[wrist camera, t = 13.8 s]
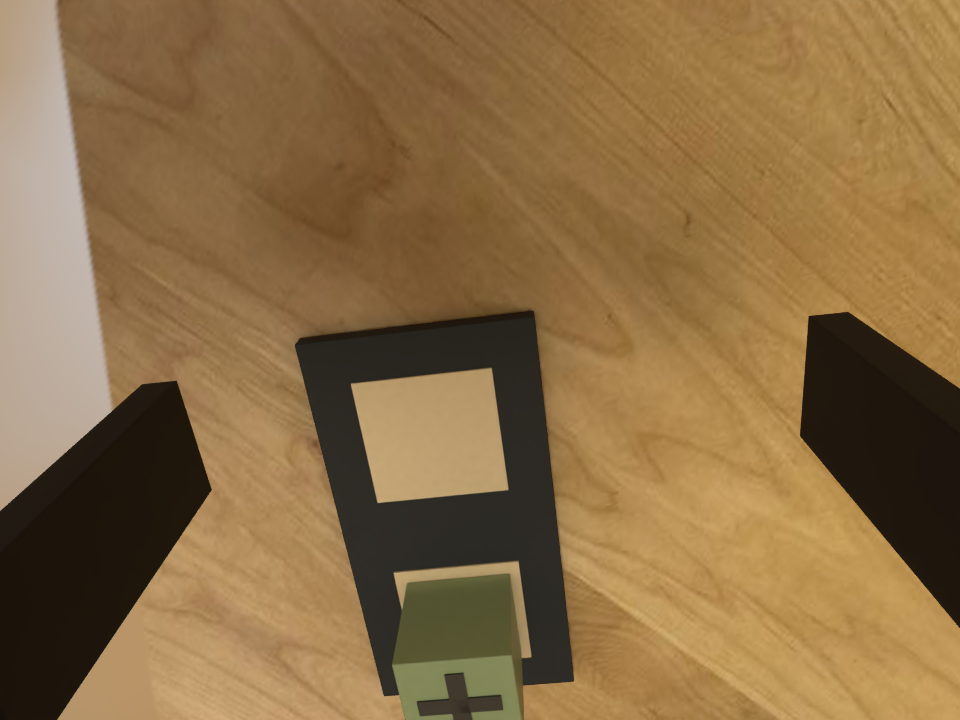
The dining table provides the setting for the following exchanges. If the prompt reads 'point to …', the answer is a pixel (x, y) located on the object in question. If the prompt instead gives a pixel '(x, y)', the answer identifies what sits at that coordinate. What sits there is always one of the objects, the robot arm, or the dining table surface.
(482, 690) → the green plus cube
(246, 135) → the dining table surface
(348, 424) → the word mat
